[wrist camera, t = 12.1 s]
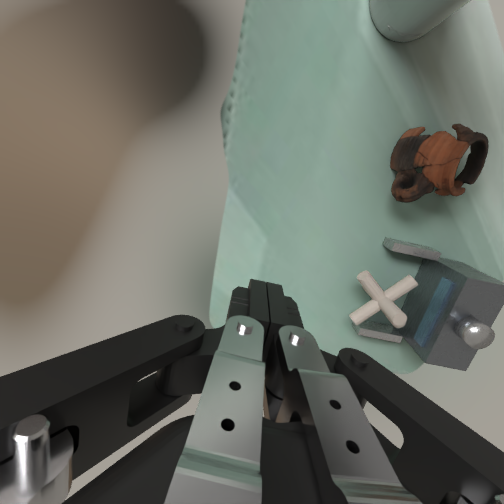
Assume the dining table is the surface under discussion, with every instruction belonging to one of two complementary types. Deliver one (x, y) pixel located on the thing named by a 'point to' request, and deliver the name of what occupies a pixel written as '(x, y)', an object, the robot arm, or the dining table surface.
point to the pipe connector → (383, 299)
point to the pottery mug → (436, 162)
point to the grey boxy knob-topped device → (443, 309)
